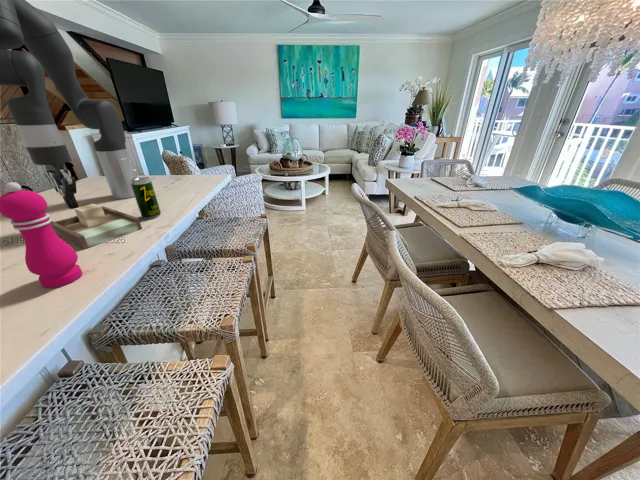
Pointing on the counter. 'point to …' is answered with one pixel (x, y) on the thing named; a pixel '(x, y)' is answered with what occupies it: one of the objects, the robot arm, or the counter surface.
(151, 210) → the beer can
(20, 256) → the counter surface
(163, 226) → the counter surface
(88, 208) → the maple block
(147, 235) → the counter surface
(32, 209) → the pepper mill
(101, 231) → the box
